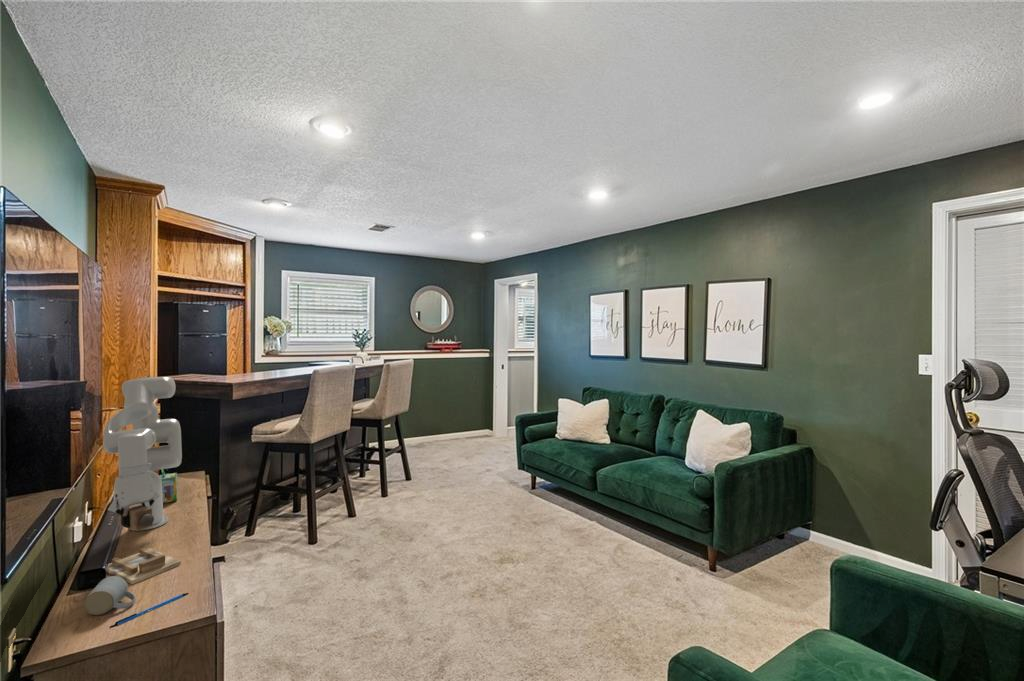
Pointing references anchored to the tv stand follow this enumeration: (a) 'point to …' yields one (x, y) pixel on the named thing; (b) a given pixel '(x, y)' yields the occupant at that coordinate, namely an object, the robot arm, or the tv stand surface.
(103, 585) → the ceramic mug
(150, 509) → the brown wooden block
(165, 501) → the chalk box
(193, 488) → the tv stand surface
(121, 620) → the pen
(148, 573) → the jig
